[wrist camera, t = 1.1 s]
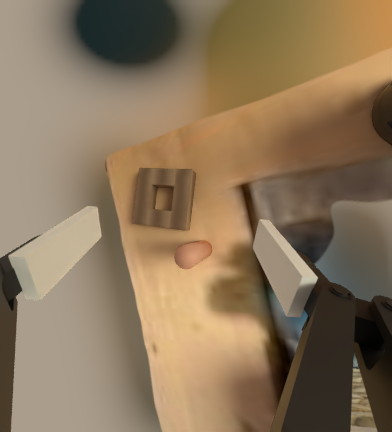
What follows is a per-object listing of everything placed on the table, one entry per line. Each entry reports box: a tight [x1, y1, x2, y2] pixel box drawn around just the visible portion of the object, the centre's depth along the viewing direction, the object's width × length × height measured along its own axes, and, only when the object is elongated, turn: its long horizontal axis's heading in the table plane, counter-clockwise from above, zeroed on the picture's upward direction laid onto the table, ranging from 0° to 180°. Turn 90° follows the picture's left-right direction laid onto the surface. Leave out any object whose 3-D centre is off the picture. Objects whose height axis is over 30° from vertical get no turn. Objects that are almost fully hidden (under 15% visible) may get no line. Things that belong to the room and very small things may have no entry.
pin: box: [174, 241, 212, 269], centre depth 36 cm, size 4×4×13 cm
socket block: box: [132, 168, 196, 230], centre depth 45 cm, size 14×14×3 cm
